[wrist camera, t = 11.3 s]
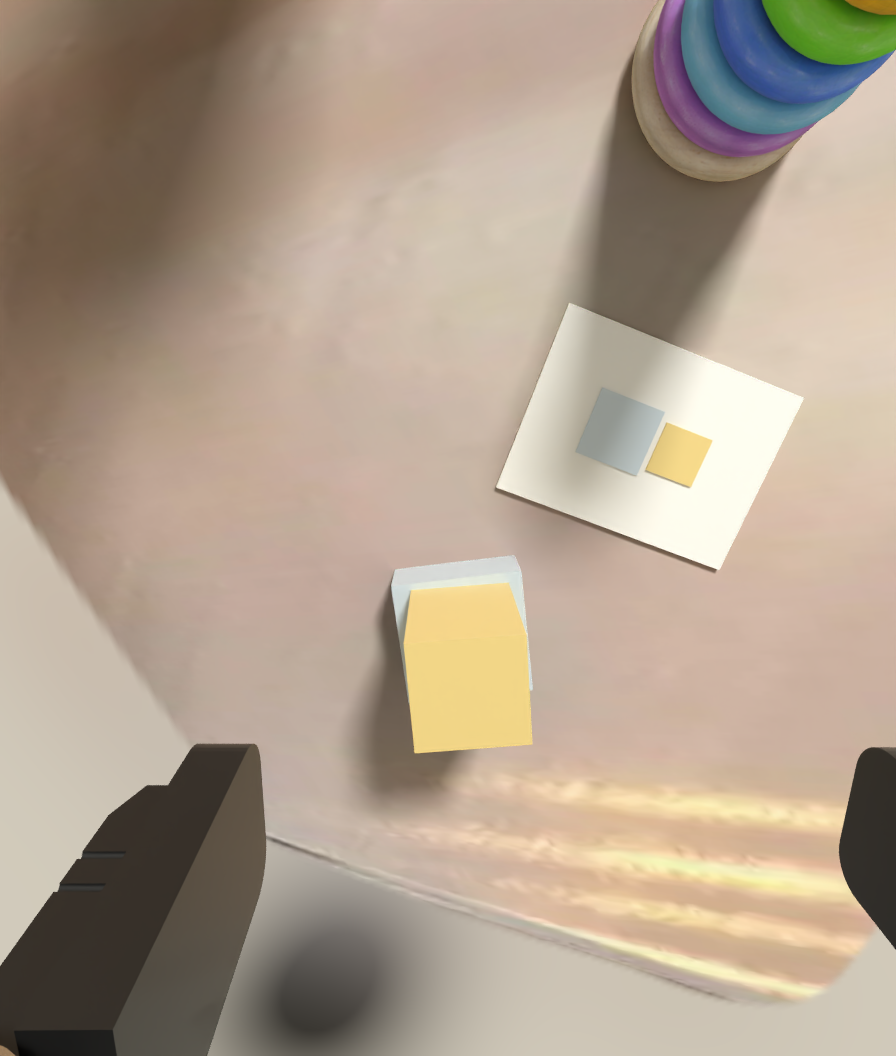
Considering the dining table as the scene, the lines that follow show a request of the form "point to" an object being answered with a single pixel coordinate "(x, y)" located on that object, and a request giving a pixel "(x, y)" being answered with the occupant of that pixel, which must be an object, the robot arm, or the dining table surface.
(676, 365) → the page
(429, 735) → the ochre brick
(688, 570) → the dining table surface
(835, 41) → the stacking toy
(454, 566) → the base brick
